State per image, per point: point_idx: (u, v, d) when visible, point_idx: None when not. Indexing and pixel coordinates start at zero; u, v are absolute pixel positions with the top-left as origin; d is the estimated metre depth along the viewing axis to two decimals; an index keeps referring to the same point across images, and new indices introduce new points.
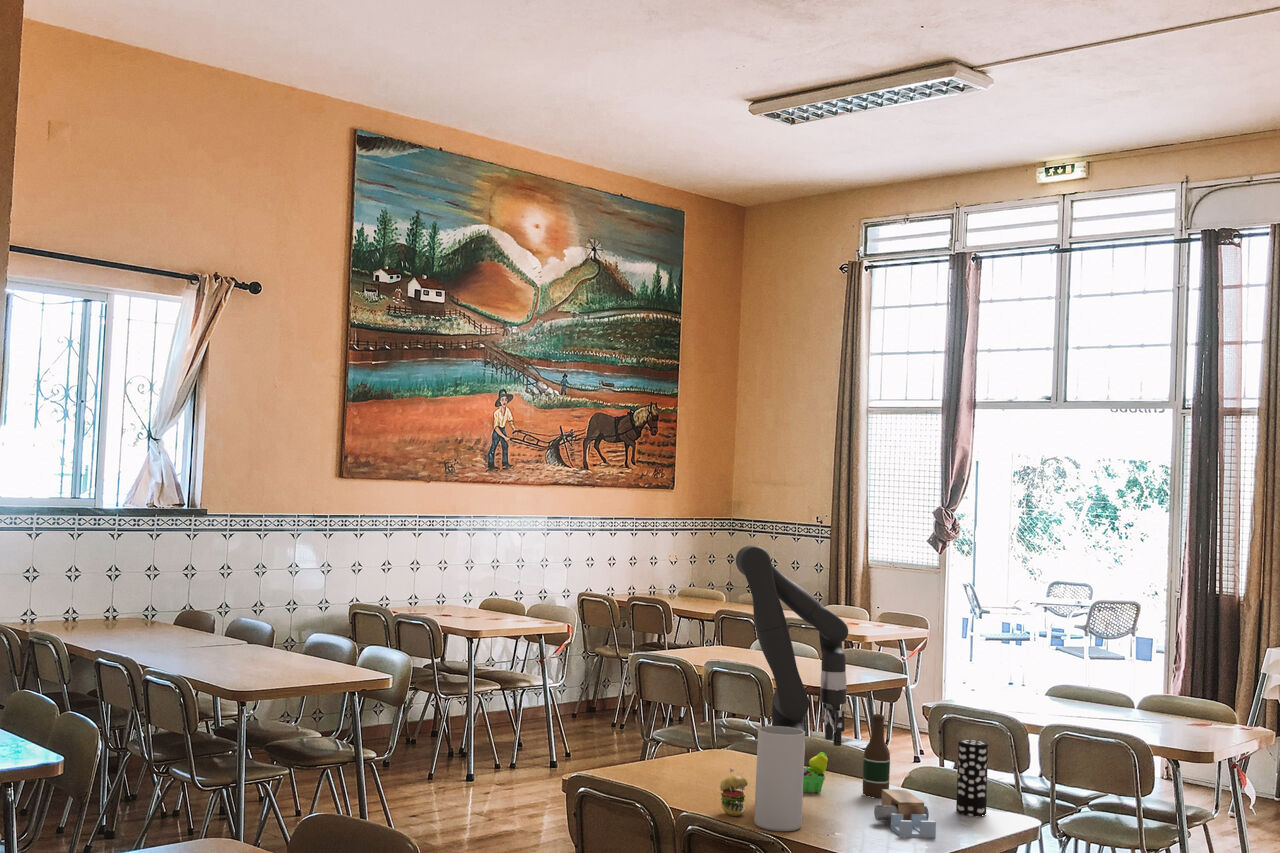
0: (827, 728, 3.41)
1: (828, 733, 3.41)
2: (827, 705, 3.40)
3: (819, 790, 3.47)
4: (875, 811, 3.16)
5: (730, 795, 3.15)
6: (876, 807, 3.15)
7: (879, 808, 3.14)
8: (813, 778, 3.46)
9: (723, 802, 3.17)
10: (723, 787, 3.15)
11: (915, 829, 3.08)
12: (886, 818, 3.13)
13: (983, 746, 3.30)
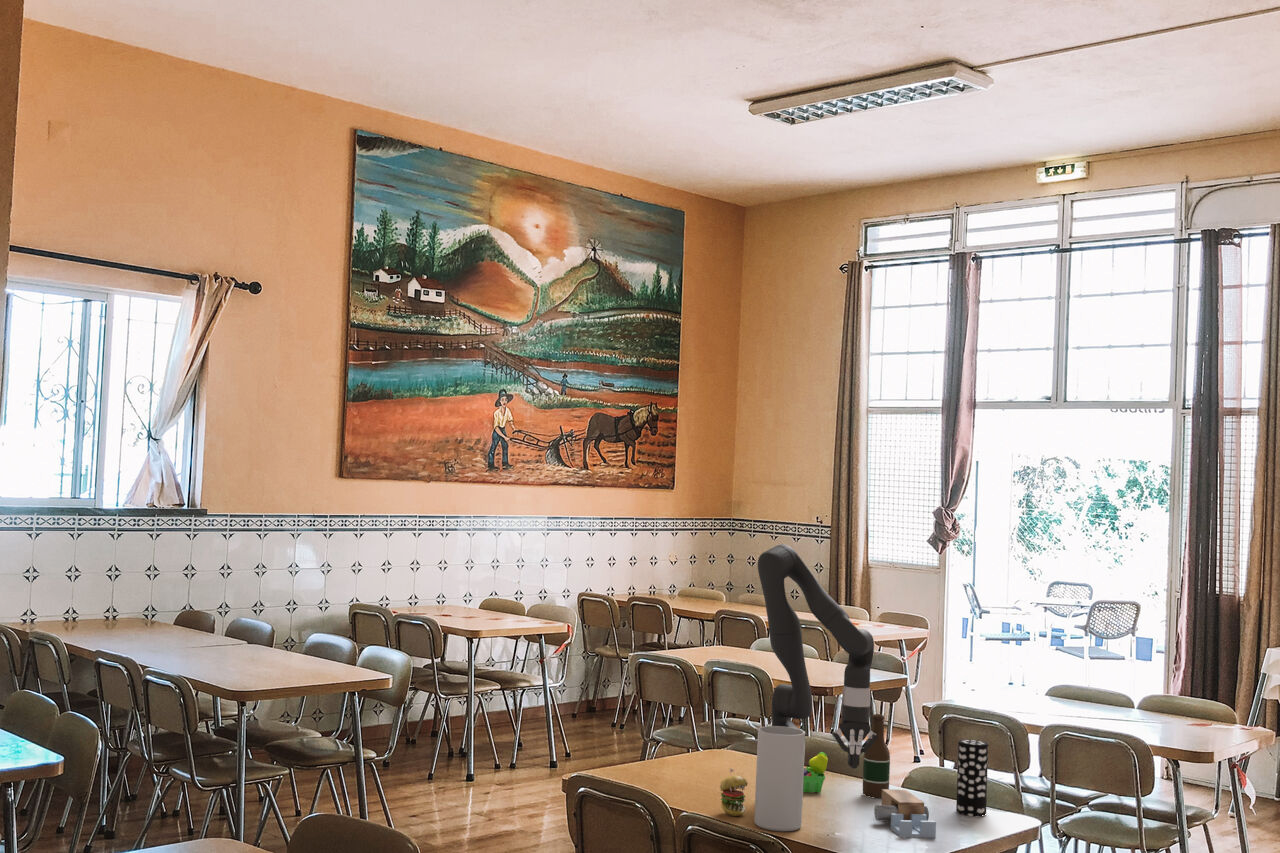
0: None
1: None
2: (845, 724, 3.14)
3: (819, 790, 3.47)
4: (875, 811, 3.16)
5: (730, 795, 3.15)
6: (876, 807, 3.15)
7: (879, 809, 3.14)
8: (813, 778, 3.46)
9: (723, 802, 3.17)
10: (723, 787, 3.15)
11: (915, 829, 3.08)
12: (886, 818, 3.13)
13: (983, 746, 3.30)
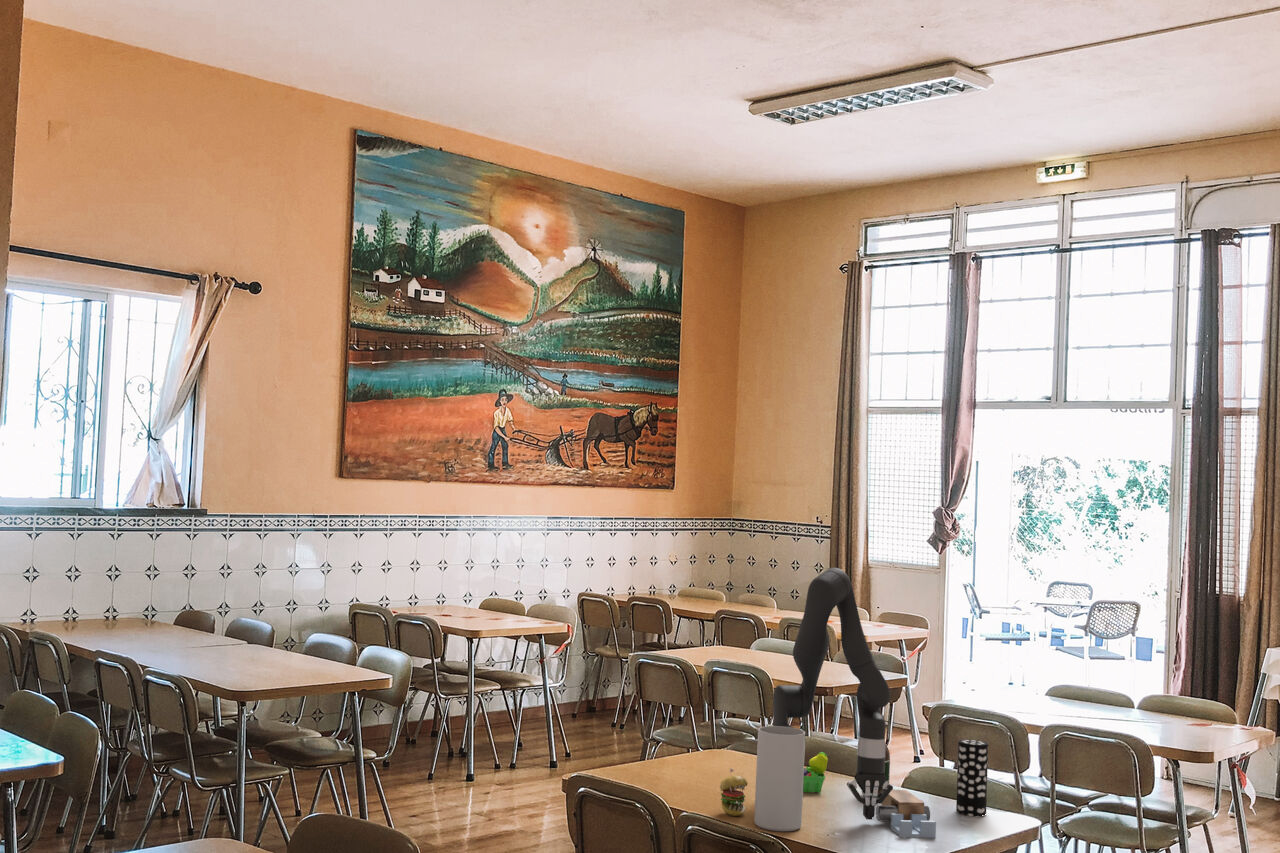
0: None
1: None
2: (861, 775, 3.14)
3: (819, 790, 3.47)
4: (876, 811, 3.16)
5: (730, 795, 3.15)
6: (878, 808, 3.15)
7: (881, 810, 3.13)
8: (813, 778, 3.46)
9: (723, 802, 3.17)
10: (723, 787, 3.15)
11: (915, 829, 3.08)
12: (887, 819, 3.13)
13: (983, 746, 3.30)
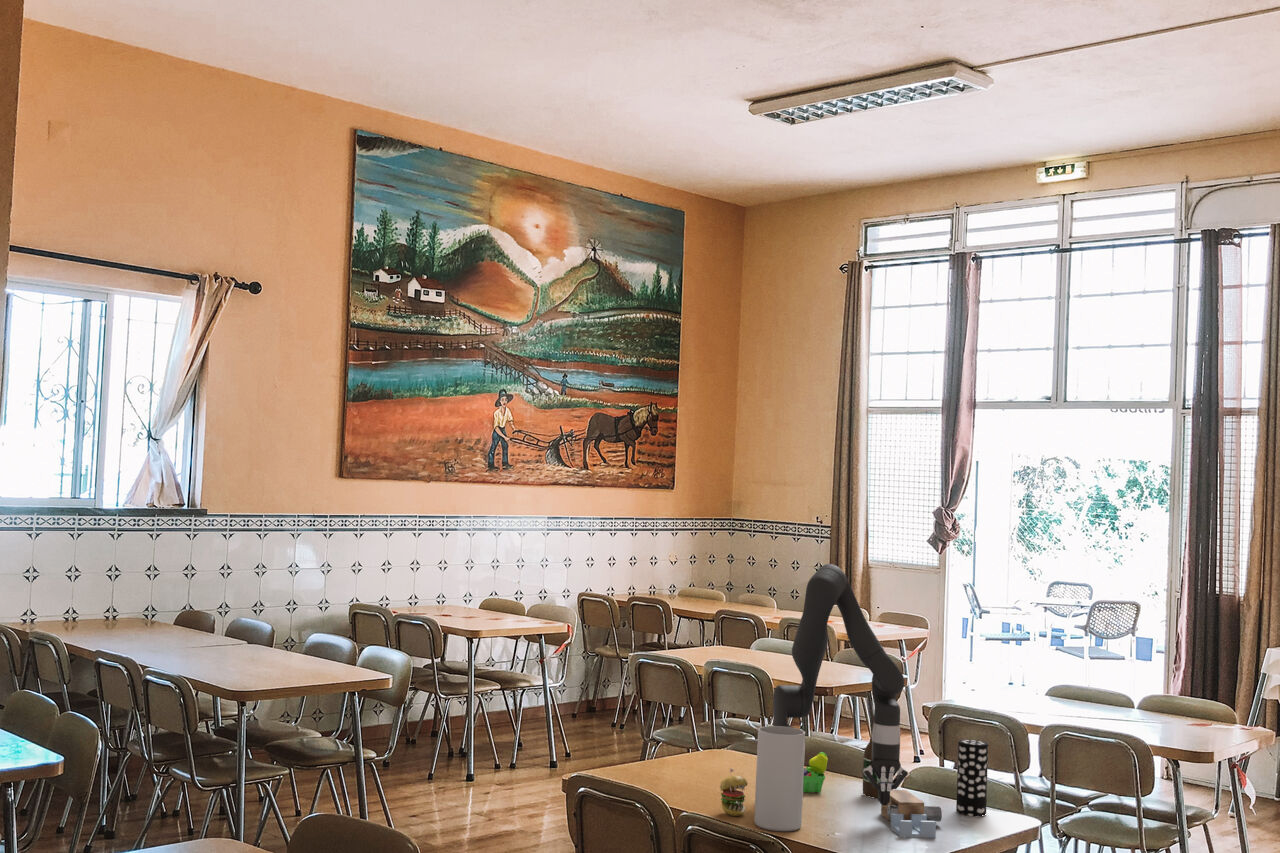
0: None
1: None
2: (876, 761, 3.15)
3: (819, 790, 3.47)
4: (888, 812, 3.17)
5: (730, 795, 3.15)
6: (889, 807, 3.16)
7: (892, 808, 3.15)
8: (813, 778, 3.46)
9: (723, 802, 3.17)
10: (723, 787, 3.15)
11: (915, 829, 3.08)
12: None
13: (983, 746, 3.30)
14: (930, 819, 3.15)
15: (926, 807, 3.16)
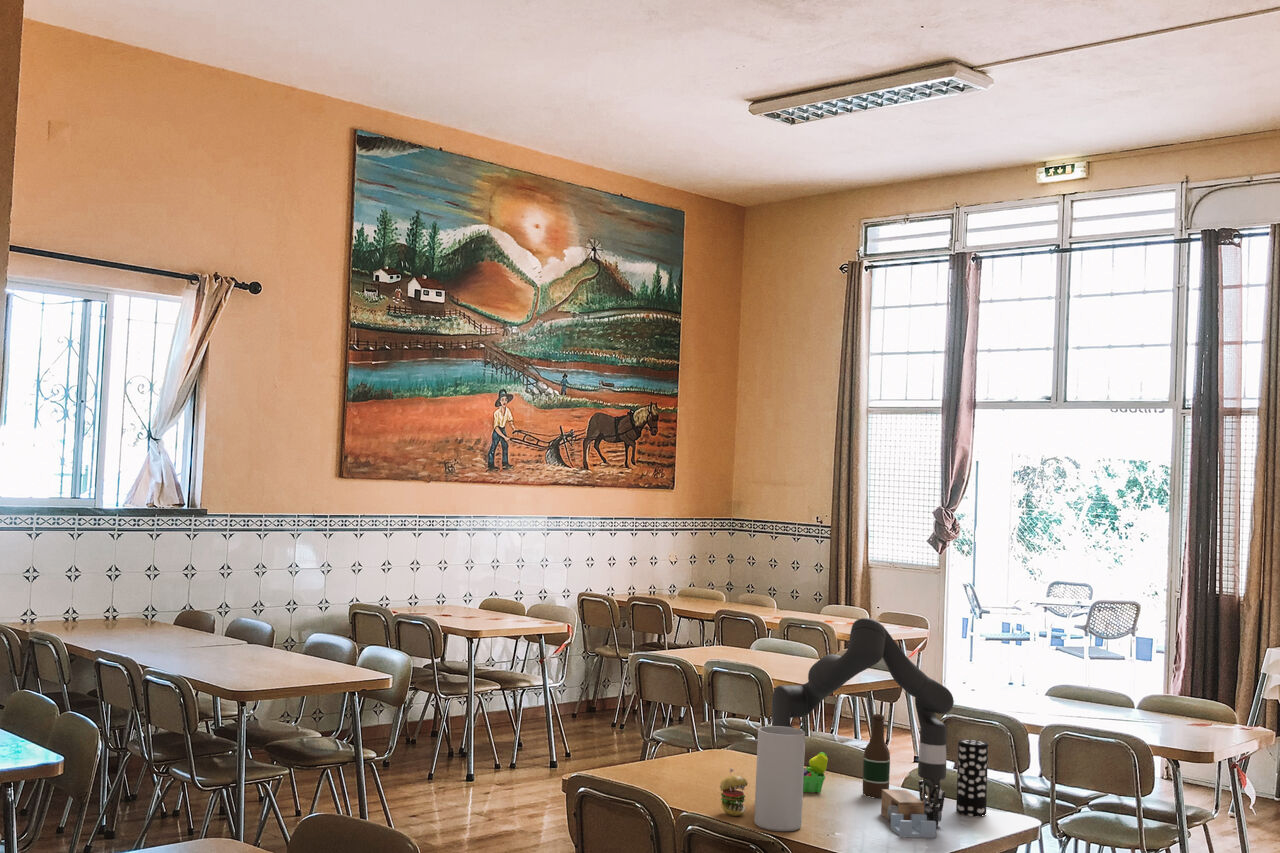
0: None
1: None
2: None
3: (819, 790, 3.47)
4: (888, 811, 3.16)
5: (730, 795, 3.15)
6: (890, 808, 3.15)
7: (893, 810, 3.14)
8: (813, 778, 3.46)
9: (723, 802, 3.17)
10: (723, 787, 3.15)
11: (915, 829, 3.08)
12: None
13: (983, 746, 3.30)
14: None
15: (927, 809, 3.15)
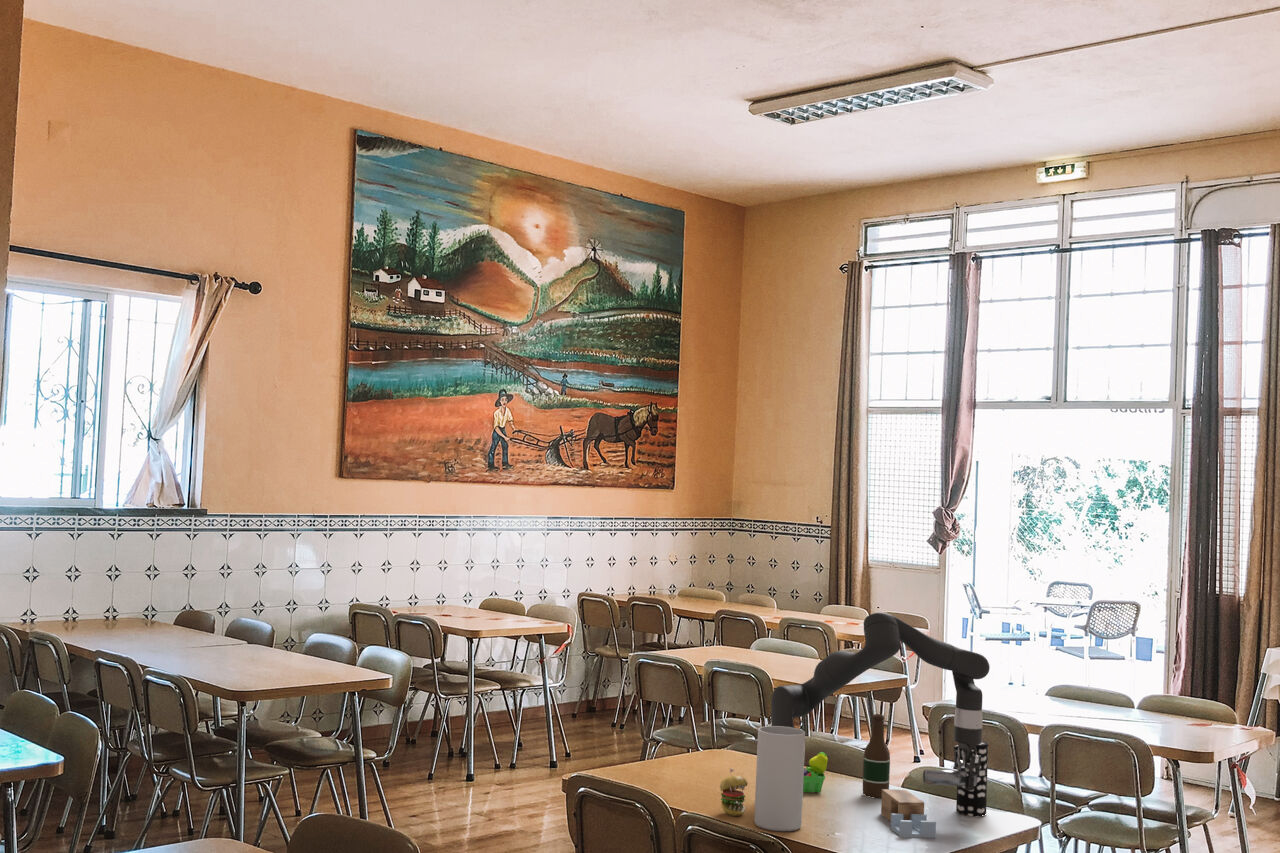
0: None
1: None
2: None
3: (819, 790, 3.47)
4: (924, 775, 3.19)
5: (730, 795, 3.15)
6: (925, 772, 3.18)
7: (929, 774, 3.16)
8: (813, 778, 3.46)
9: (723, 802, 3.17)
10: (723, 787, 3.15)
11: (915, 829, 3.08)
12: (935, 783, 3.16)
13: (983, 746, 3.30)
14: None
15: (962, 773, 3.18)
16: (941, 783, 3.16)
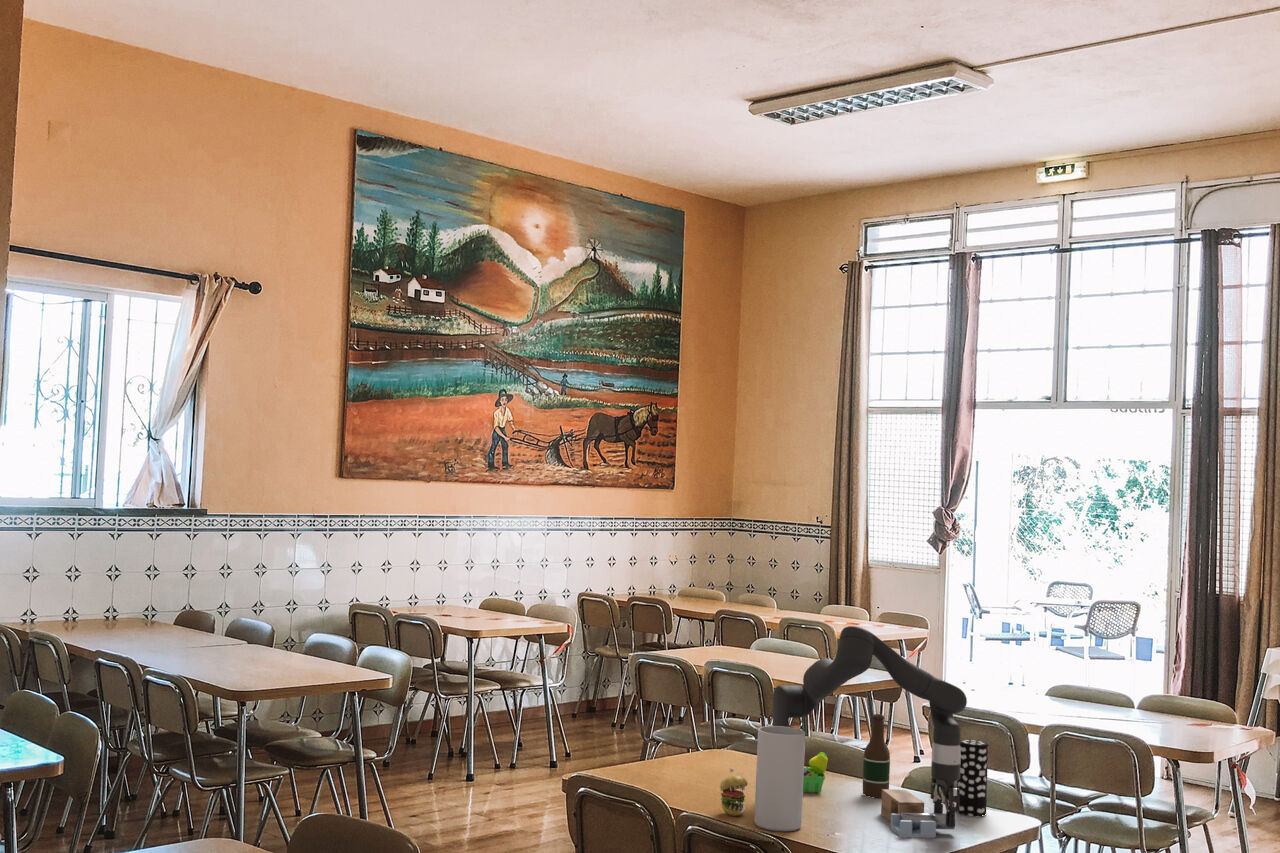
0: None
1: None
2: None
3: (819, 790, 3.47)
4: (900, 818, 3.08)
5: (730, 795, 3.15)
6: (902, 815, 3.07)
7: (905, 817, 3.06)
8: (813, 778, 3.46)
9: (723, 802, 3.17)
10: (723, 787, 3.15)
11: (915, 829, 3.08)
12: None
13: (983, 746, 3.30)
14: (943, 828, 3.07)
15: (940, 816, 3.07)
16: (918, 827, 3.06)
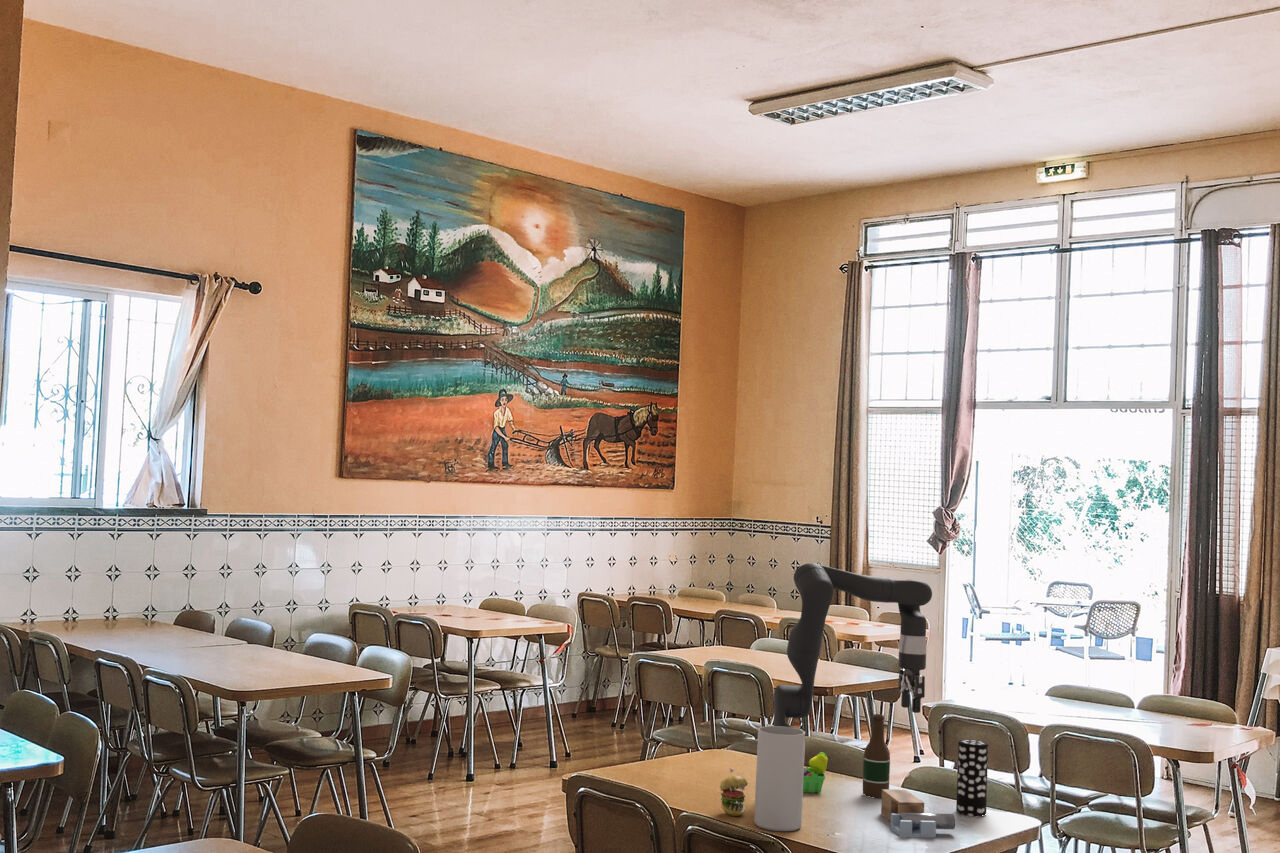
0: None
1: None
2: None
3: (819, 790, 3.47)
4: (900, 818, 3.08)
5: (730, 795, 3.15)
6: (902, 815, 3.07)
7: (905, 817, 3.06)
8: (813, 778, 3.46)
9: (723, 802, 3.17)
10: (723, 787, 3.15)
11: (915, 829, 3.08)
12: None
13: (983, 746, 3.30)
14: (943, 828, 3.07)
15: (940, 816, 3.07)
16: (918, 827, 3.06)
